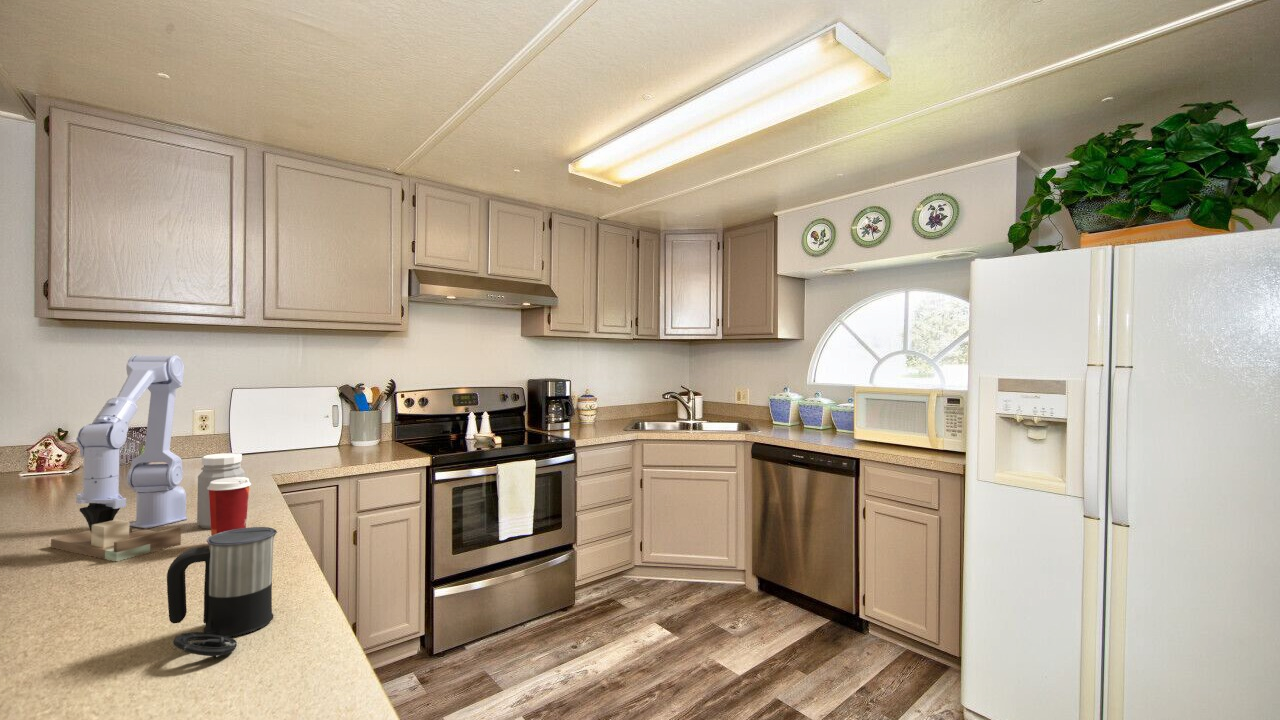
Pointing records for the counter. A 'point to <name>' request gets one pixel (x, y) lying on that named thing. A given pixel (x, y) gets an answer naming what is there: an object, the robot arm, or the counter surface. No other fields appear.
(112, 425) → the robot arm
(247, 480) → the coffee cup
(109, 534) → the block
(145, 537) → the deck
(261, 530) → the milk frother
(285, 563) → the counter surface
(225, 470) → the jar
